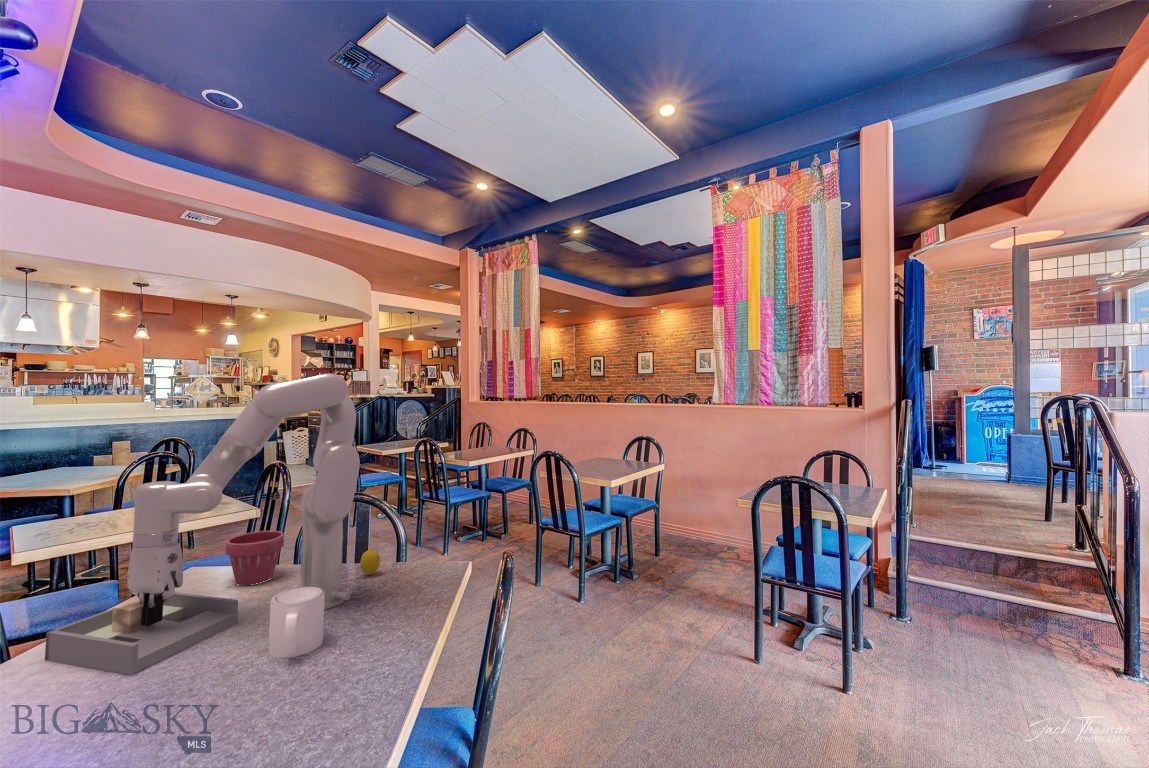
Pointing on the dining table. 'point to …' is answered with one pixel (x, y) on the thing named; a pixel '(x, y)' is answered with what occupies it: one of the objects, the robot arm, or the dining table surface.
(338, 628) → the dining table surface
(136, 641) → the box
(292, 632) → the mug
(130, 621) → the maple block
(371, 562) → the lemon
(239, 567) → the plant pot
